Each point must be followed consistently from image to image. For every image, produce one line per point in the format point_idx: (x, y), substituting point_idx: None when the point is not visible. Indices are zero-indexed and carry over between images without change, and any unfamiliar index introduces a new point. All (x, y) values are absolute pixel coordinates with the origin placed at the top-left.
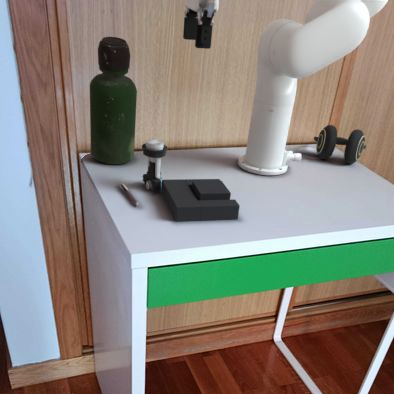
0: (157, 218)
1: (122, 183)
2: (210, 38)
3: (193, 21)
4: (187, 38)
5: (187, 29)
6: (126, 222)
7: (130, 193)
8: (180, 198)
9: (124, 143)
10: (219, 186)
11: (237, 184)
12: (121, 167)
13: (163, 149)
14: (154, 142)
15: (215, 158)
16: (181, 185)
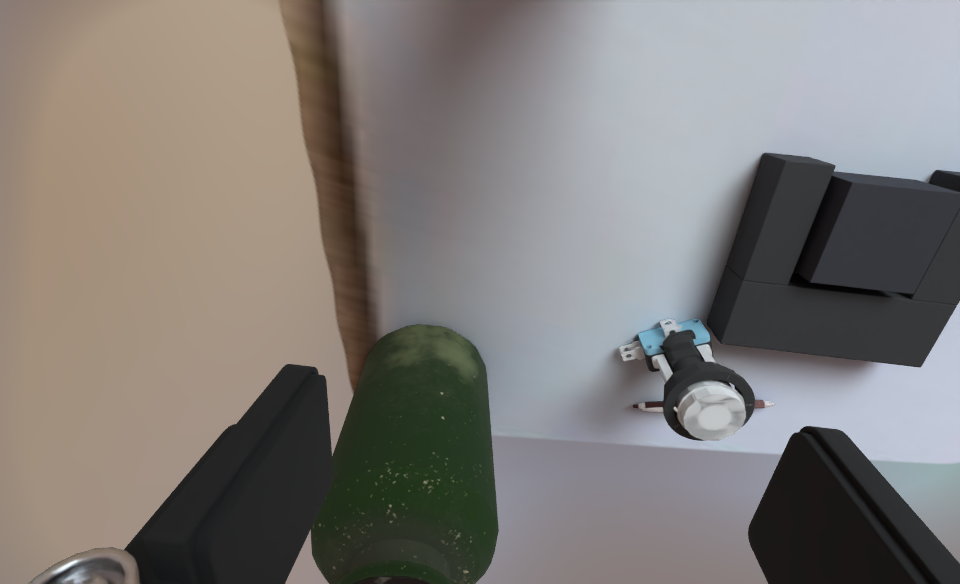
0: (849, 378)
1: (648, 410)
2: (896, 509)
3: (239, 567)
4: (330, 460)
5: (297, 533)
6: None
7: None
8: (872, 340)
9: (485, 396)
10: (895, 211)
11: (728, 43)
12: (500, 367)
13: (742, 390)
14: (720, 420)
15: (449, 22)
16: (786, 306)
